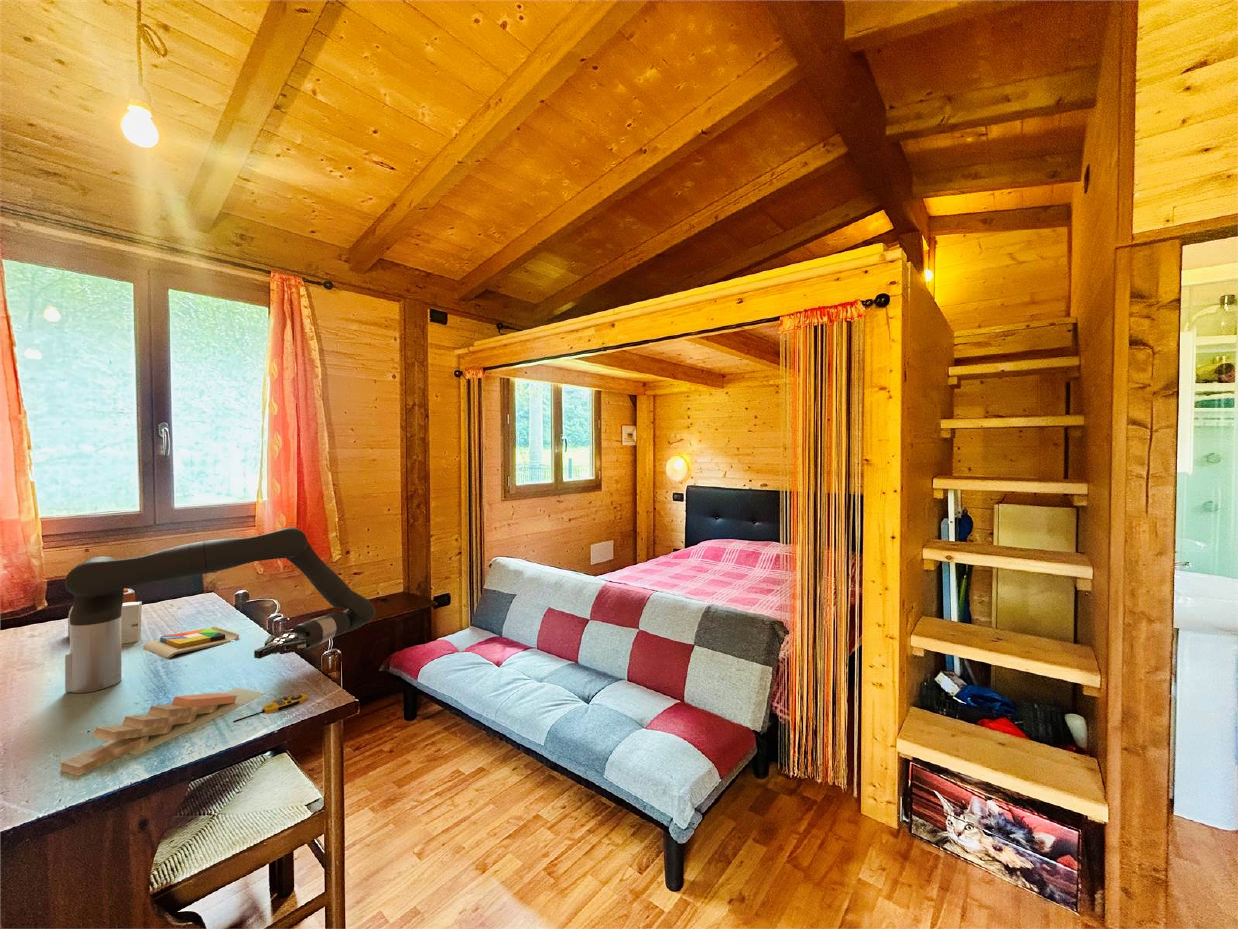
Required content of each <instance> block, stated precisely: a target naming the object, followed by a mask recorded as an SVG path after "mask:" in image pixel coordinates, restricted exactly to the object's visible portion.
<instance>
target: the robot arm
mask: <svg viewBox="0 0 1238 929" xmlns="http://www.w3.org/2000/svg"><path fill="white" fill-rule="evenodd" d="M307 537H308V536H307V535H306V533H305V532H304V531H302V530H301V529H300V528H297V527H292V526H291V527H290V526H289V527H284V528H281V529H279V530H276V531H275V530H274V531H271V532H268V533H264V534H260V535H256V536H255V535H254V536H250V537H238V538H220V539H219V538H218V539H212V540H211V539H210V540H203V541H198V542H197V541H196V542H192V543H191V542H190V543H186V544H181V545H178V546H174V547H169V548H166V549H162V550H159V551H156V552H153V553H150V554H146V555H142V556H137V557H129V558H121V559H115V558H113V557H110V556H101V555H100V556H94V557H91V558H89V559H86V560H84V561H83V562H81V563H79V564H78V565H76V566H74V567H73V568H72V569H71V570H70V571H69V572H68V573H67V575H66V576H65V579H64V585H65V586H64V587H65V588H66V590H67V591H68V592H69V593H71V594H73V598H74V599H73V604H72V606H73V608H72V607H71V608H72V611H71V613H70V638H69V652H68V653H66V655H65V656H64V679H65V680H64V686H65V687H64V689H65V690H64V693H74V694H84V693H90V692H91V693H92V692H95V691H101V690H103V689H107V688H110V687H113V686H115V685H116V684H118V683H120V682H121V681H122V673H123V672H122V644H121V611H122V605H123V600H124V588H126V589H129V588H131V587H136V586H140V585H144V584H149V583H157V582H164V581H165V582H166V581H172V580H178V579H184V578H185V579H186V578H191V577H197V576H202V575H203V576H204V575H207V574H212V573H217V572H220V571H224V570H228V569H233V568H237V567H240V566H242V565H243V566H244V565H246V564H249V563H250V564H251V563H255V562H260V561H270V560H279V559H286V560H288V561H289V562H290V563H292V564H293V565H294V566H295V567H296V568H297V569H299V571H300V572H301V573H303V575H304V576H305V577H306V578H307V579H308V581H309V582H310V583H311V584H312V586H313V587H314V588H315V590H316V591H317V592H318V593H319V594H320V595H321V596H322V598H324V599H325V600H326V602H327V603H328V604H330V605H331V607H333V608H334V609H335V608H336V609H338V608H343V607H344V608H346V609H345V610H343V611H336V612H332V613H329V614H326V615H323V616H319V617H315V618H312V619H310V620H306V621H305V622H301V623H299V624H297V625H295V626H294V627H293V628H292V630H291V631H290V632H287V633H284V634H282V635H281V636H279V637H276V635H275V634H271V635H269V636H268V637H267V639H266V640H265V641H264V645H263V646H262V647H259V648H257V649H255V650H254V652H253V657H254V659H262V658H266V657H267V656H270V655H277V654H279V655H285V654H290V653H296V652H303V651H306V650H309V649H311V648H314V647H315V646H318V645H320V644H323V643H325V642H327V641H329V640H331V639H333V638H335V637H338V636H340V635H342V634H346V633H348V632H352V631H354V630H356V629H359V628H360V627H362V626H364V625H366V624H367V623H369V622H371V621H372V620H373V619H374V618H375V616H376V607H375V606H374V604H373V603H372V602H371V601H370V600H369V599H367V598H366V597H364V596H362V595H361V594H360V593H358V592H356V591H354V590H352V589H351V588H350V586H349V585H347V583H346V582H345V581H344V580H343V579H342V577H340V576H339V575H338V574H337V573H336V572H335V571H334V570H333V569H332V568H331V567H330V566H329V565H328V564H326V563H325V562H324V561H323V560H322V559H321V557H320V556H319V555H318V554H317V553H316V552H315V550H314V548H313V547H312V546H311V544H310V542H309V541H308V538H307Z"/></svg>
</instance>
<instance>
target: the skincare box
mask: <svg viewBox="0 0 1238 929" xmlns="http://www.w3.org/2000/svg"><path fill="white" fill-rule="evenodd" d="M142 607H143V602H142V601H135V602H129V603H123V605H122V611H121V645H122V644H129V643H136V642H138V641H140V639H141V636H142V635H141V634H142V613H143V612H142Z"/></svg>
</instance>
